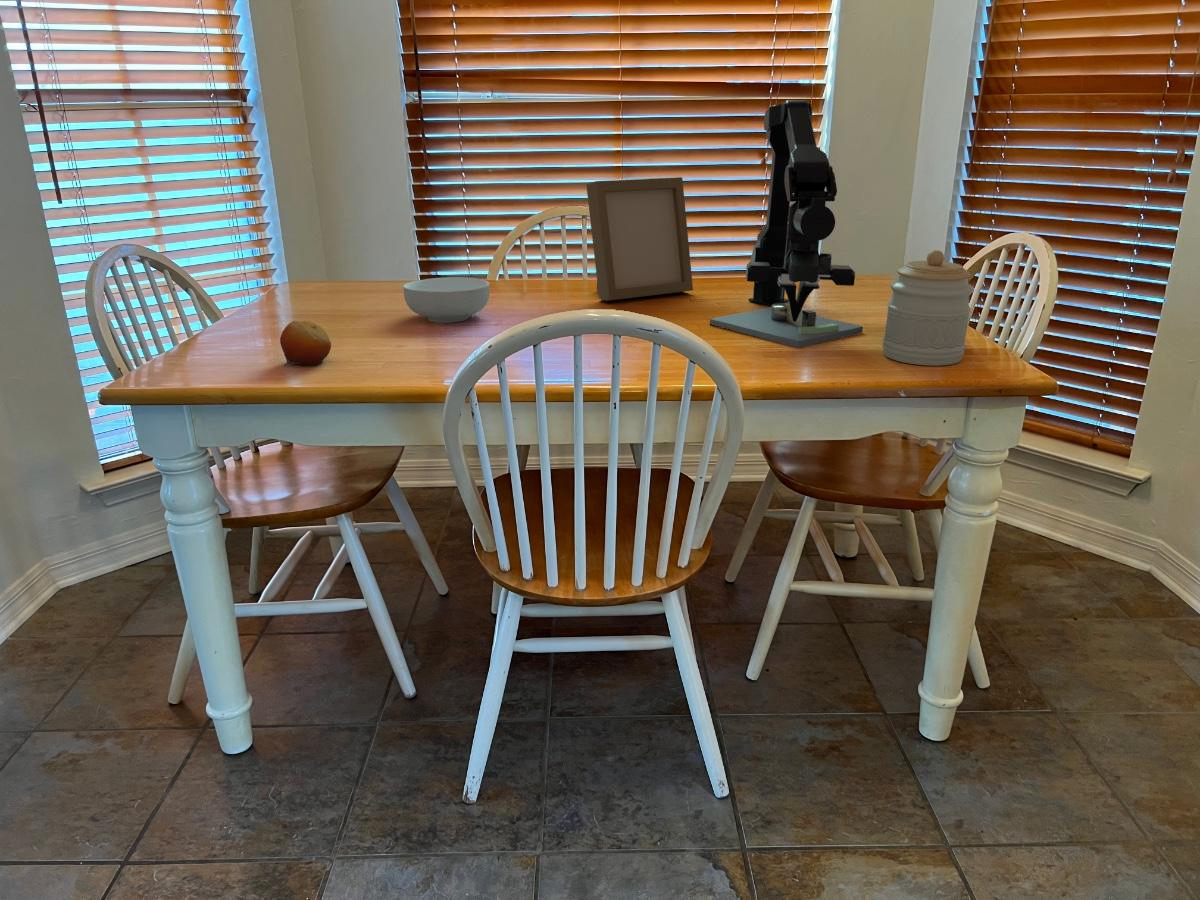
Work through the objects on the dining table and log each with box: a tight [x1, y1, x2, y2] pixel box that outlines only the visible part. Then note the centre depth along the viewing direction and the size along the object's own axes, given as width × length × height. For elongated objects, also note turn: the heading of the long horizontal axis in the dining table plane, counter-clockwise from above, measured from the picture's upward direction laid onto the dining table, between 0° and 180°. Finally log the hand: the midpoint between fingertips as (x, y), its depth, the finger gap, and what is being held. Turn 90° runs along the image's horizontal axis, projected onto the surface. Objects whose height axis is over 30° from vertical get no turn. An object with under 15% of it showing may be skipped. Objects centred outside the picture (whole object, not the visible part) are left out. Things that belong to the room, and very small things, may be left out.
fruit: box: [279, 320, 332, 367], centre depth 141 cm, size 8×8×8 cm
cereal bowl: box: [402, 276, 491, 324], centre depth 172 cm, size 17×17×7 cm
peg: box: [771, 302, 817, 327], centre depth 162 cm, size 12×5×3 cm, turn 17°
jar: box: [882, 249, 975, 367], centre depth 142 cm, size 13×13×18 cm
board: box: [709, 306, 864, 349], centre depth 163 cm, size 18×22×2 cm
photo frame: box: [585, 176, 694, 302], centre depth 191 cm, size 15×22×25 cm
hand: (794, 321), depth 158 cm, fingers closed
